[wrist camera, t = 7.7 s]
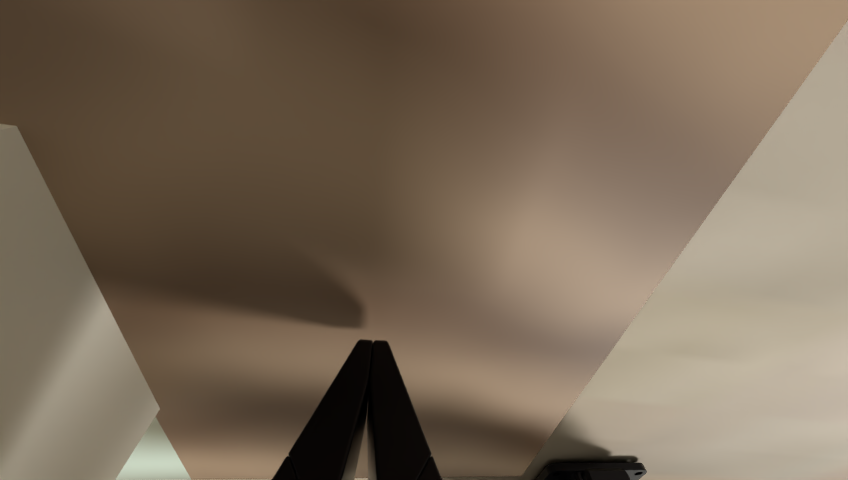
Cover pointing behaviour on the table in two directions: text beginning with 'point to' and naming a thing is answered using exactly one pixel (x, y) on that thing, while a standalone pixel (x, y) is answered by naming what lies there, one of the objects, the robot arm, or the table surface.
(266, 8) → the podium
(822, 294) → the table surface
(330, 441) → the robot arm
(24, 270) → the carton
